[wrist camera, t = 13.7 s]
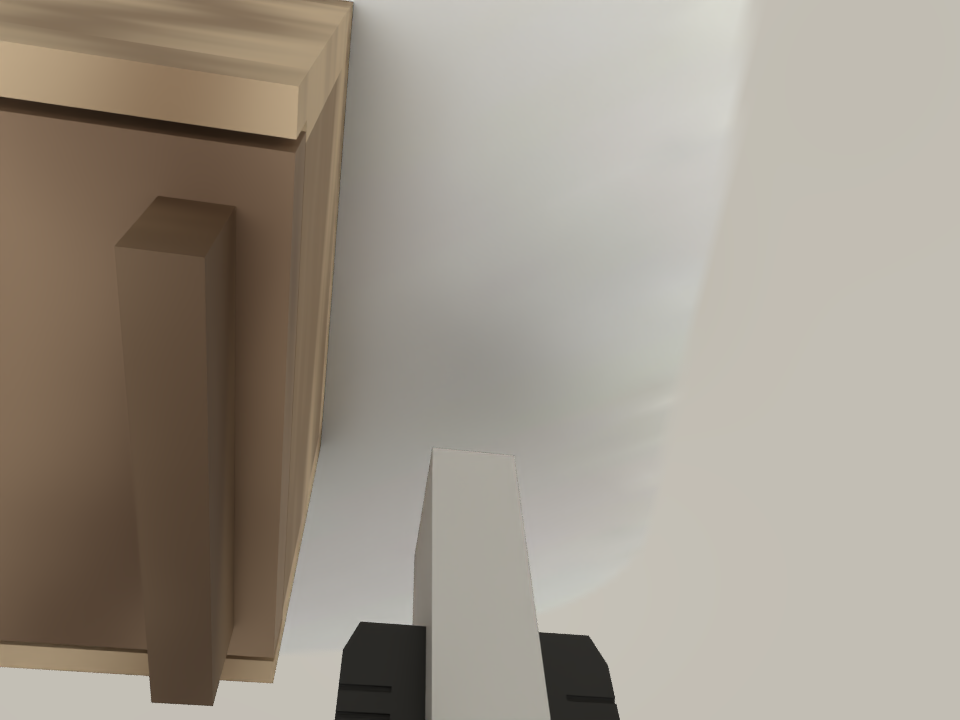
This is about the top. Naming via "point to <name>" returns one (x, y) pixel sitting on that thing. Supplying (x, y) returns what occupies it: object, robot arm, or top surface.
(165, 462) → the lid
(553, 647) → the robot arm
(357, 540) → the top surface
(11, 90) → the wooden box
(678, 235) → the top surface
